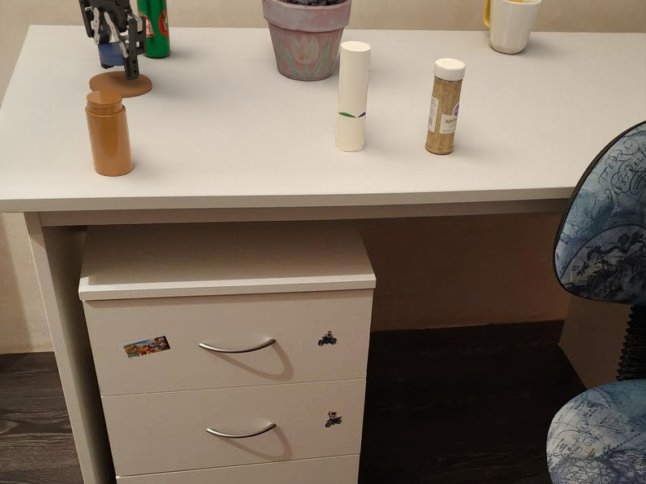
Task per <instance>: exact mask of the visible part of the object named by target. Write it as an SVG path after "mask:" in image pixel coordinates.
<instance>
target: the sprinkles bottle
mask: <svg viewBox="0 0 646 484" xmlns="http://www.w3.org/2000/svg"><path fill="white" fill-rule="evenodd" d="M466 69H467V68H466V63H465V62H463V61H461V60H459V59H456V58H452V57H451V58H450V57H442V58H439V59H436V61H435V63H434V69H433V75H434V76H433V77H434V78H433V86H432V94H431V99H430V107H429V114H428V120H427V121H428V122H427V135H426V141H425V144H424V146H425V149H426V150H427V151H429V152H430V153H433V154H436V155H447V154H450V153H452V152H453V151H454V140H455V133H456V129H457V123H458V116H459V110H460V99H461V93H462V87H463V86H462V85H463V81H464V78H465V76H466V75H465V74H466Z"/></svg>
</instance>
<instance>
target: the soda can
mask: <svg viewBox="0 0 646 484" xmlns="http://www.w3.org/2000/svg"><path fill="white" fill-rule="evenodd" d="M135 1H136V9H137V17H140V16H144V17H145V18H146V53H145V54H144V55H145V56H146V57H149V58H153V59H162V58H163V59H164V58H166V57H168V56H169V55H170V54H171V50H172V49H171V38H170V28H169V14H168V3H167V0H135Z"/></svg>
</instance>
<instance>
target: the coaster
mask: <svg viewBox="0 0 646 484" xmlns="http://www.w3.org/2000/svg"><path fill="white" fill-rule="evenodd" d="M88 85H89V89H90V90H91V92H94V91H99V90H109V91H114V92H117V93H119V94H120V95H121V96H122V98H131V97H137V96H138V97H139V96H142V95H144V94H146V93H148V92H150V91H151V90H152V88H153V81H152V79H151V78H150V77H148V76H147V75H145V74H143V73H140V72H139V77H138V78H137V79H134V80H128V79H126V78H125V71H124V70H114V71H106V72H102V73H98V74H96V75H94V76H92V77H91V78H89V81H88Z"/></svg>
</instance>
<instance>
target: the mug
mask: <svg viewBox="0 0 646 484" xmlns="http://www.w3.org/2000/svg"><path fill="white" fill-rule="evenodd" d="M542 1H543V0H485V1H484V6H483V7H484V8H483V15H482V21H483V24H484V26H485V27H487V29H488V30H489V33H488V41H489V43H490V45H491V47H492V48H493V50H495V51H496V52H499V53H502V54H508V55H514V54H518V53H521V51H522V50H523V49H524V48H526V47H527V45H528V42H529V38H530V36H531V33H532V30H533V28H534V24H535V22H536V19H537V16H538V13H539V11H540V8H541V6H542V5H541V4H542Z"/></svg>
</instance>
